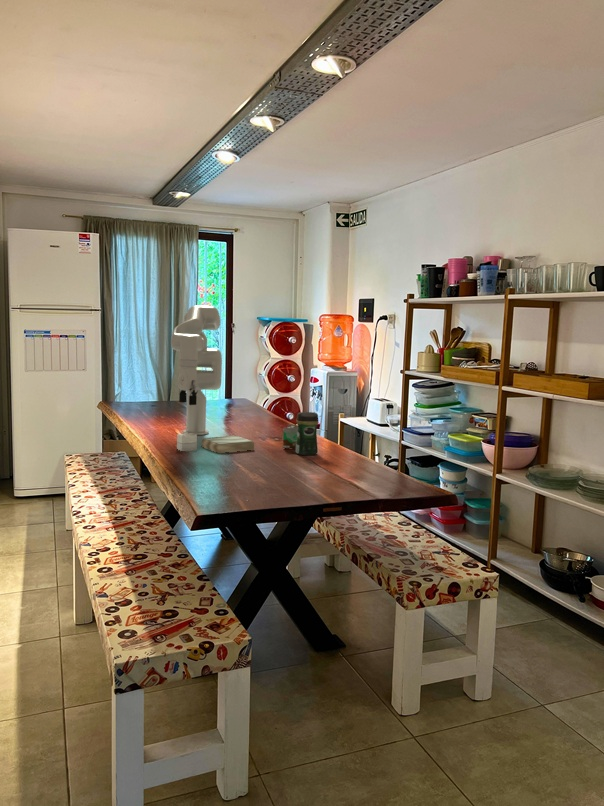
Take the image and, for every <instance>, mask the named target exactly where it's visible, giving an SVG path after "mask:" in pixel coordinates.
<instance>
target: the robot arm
mask: <svg viewBox="0 0 604 806" xmlns="http://www.w3.org/2000/svg"><path fill="white" fill-rule="evenodd" d="M183 321H184V322H182V323H180V324H178V325H177V326H175V327H174V328H173V331H172V335H171V338H170V345H171V349H172V350H173V351H176V352H179V368H178V369H179V370H178V378H177V388H178V392H179V393H178V395H179V398H178V399H179V403H186V422H185V423H186V424H185V427H186V428H185V429H183V430H182V434H184V433H193V434H196V435H197V436H201V435H202V436H204V435H208V434H209V430H208V429H207V426H206V424H207V421H206V420H207V397H206V395H205V394H204V393H203V391H202V390H208V391H209V390H211V391H215V390H216V391H217V390H219V389H221V386H222V371H223V370H222V365H223V354H222V352H221V350H220V349H217V348H208V337H207V335H206V334H205V332H204V330H205V331H206V330H208V331H216V330H219V328H220V327H221V316H220V312H219V310H218V308H216V307H215V306H211V305H192V306H191V307H190V308H189V309H188V310H187V312H186V313H185V314H184V319H183ZM198 368H204V369H205V368H209V369H211V370H206V369H205V370H204V369H198Z"/></svg>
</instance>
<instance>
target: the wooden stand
mask: <svg viewBox="0 0 604 806" xmlns="http://www.w3.org/2000/svg"><path fill="white" fill-rule="evenodd" d="M203 447H204V449H206V450H208V449H209V451H211V452H213V451H214V452H213V453H216V452H217V453H216V454H226V453H225V452H229V453H237V451H240V452H248V451H247V450H251V451H254V450H255V441H253V440H250V439H247V438H245V437H241V436H238V435H227V436H214V437H211V436H210V437H203V438H201V448H203Z"/></svg>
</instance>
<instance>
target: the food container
mask: <svg viewBox="0 0 604 806" xmlns="http://www.w3.org/2000/svg"><path fill="white" fill-rule="evenodd" d="M282 432H283V433H282V437H283V439H282V444H283V445H282V449H283V448H286V449H285V450H290V449H289V448H295V449H296V441H297V433H298V425H297V424H294V423H293V424H292V423H288V426H286V427H283V429H282ZM287 448H288V449H287Z"/></svg>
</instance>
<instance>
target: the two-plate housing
mask: <svg viewBox="0 0 604 806" xmlns="http://www.w3.org/2000/svg"><path fill="white" fill-rule="evenodd" d="M176 436H177V437H176V450H177V449H178V450H177V451H179V450H180V451H179V452H181V451H186V452H193V451H192V450H198V449H197V448H198V446H197V445H198V444H197V443H198V435H196V434H193V433H177V434H176Z"/></svg>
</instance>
